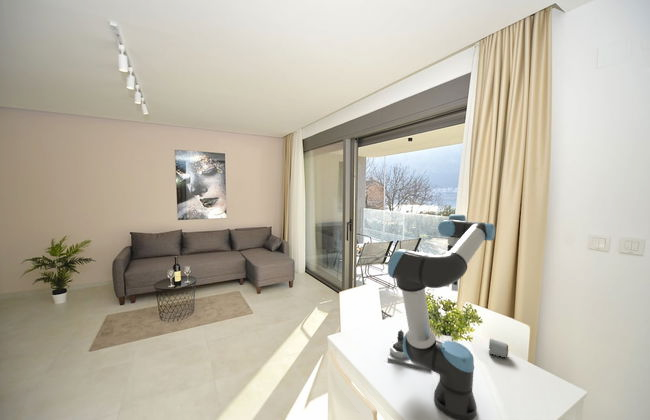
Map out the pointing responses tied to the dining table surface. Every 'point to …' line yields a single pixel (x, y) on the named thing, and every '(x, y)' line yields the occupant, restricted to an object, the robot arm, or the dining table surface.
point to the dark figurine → (400, 341)
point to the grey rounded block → (498, 348)
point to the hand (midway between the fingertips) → (453, 286)
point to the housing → (402, 358)
